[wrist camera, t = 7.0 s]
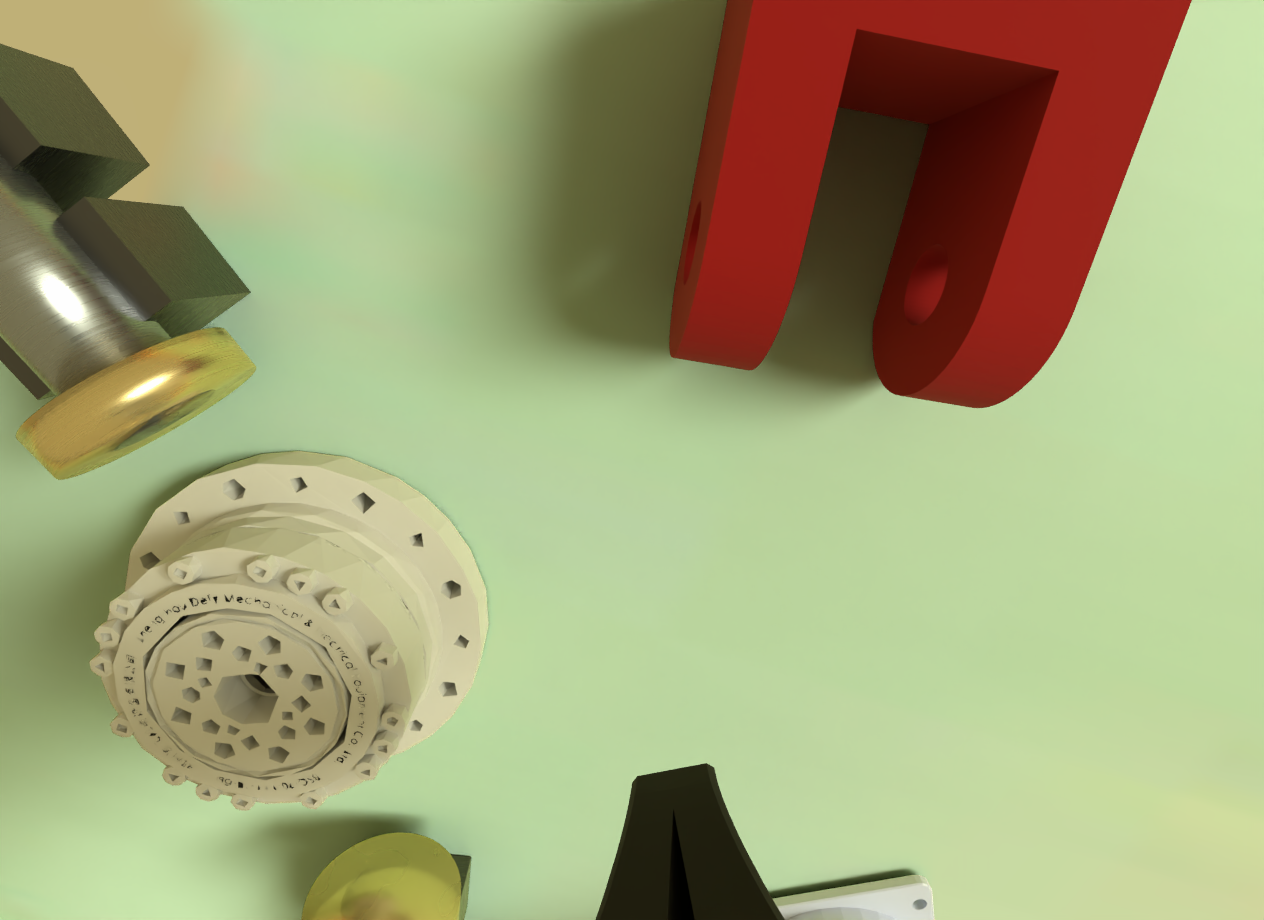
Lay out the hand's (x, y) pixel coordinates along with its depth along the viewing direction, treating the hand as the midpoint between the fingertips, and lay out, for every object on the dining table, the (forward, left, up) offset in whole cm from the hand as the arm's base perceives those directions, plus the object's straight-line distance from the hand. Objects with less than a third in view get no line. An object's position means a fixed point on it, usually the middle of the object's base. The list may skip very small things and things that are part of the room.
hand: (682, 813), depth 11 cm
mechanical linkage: (+13, -8, -9) cm, 17 cm away
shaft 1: (+12, +11, -8) cm, 18 cm away
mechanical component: (+1, +10, -9) cm, 14 cm away
